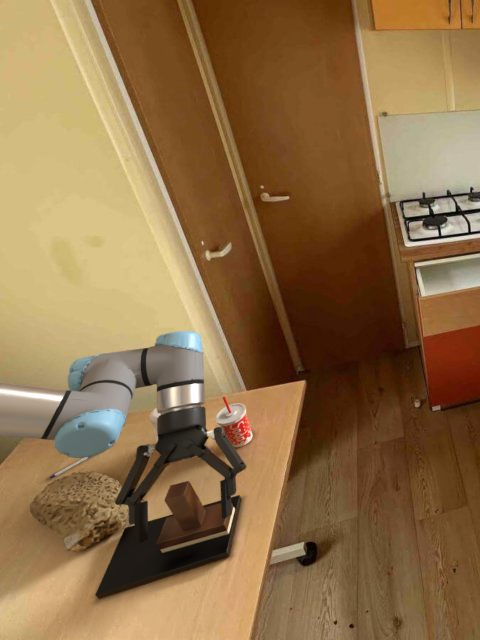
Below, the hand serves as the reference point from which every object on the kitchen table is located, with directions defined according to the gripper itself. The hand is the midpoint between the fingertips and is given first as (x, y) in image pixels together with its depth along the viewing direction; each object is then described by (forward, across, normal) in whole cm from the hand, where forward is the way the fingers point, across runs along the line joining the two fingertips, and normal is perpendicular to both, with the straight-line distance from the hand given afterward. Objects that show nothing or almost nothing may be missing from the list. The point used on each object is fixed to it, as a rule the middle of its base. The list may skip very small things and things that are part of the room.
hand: (185, 529), depth 78 cm
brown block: (+2, 0, -6) cm, 6 cm away
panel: (+3, +4, -6) cm, 8 cm away
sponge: (-6, +23, -16) cm, 29 cm away
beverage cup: (-13, -3, -23) cm, 26 cm away
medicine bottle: (-15, +10, -25) cm, 31 cm away
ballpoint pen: (-17, +31, -27) cm, 44 cm away
